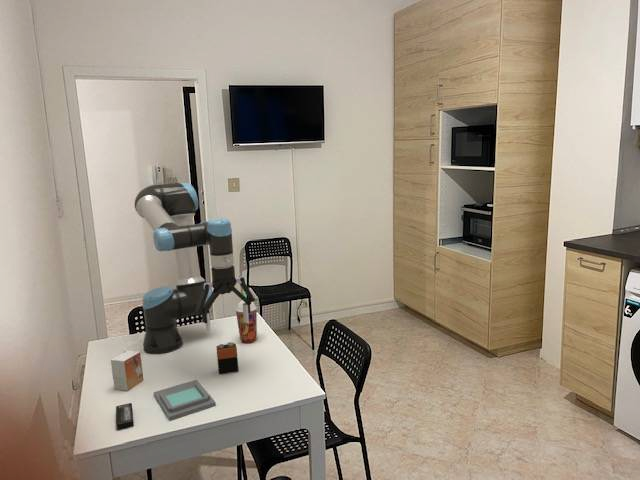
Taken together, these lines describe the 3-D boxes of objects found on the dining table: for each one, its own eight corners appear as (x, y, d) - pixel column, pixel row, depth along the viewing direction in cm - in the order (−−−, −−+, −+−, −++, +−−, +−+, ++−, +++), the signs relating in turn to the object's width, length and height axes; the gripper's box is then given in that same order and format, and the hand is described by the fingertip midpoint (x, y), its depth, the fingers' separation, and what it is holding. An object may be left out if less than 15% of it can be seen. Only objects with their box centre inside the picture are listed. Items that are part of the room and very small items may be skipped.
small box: (127, 391, 157) (123, 361, 155) (114, 389, 159) (110, 359, 157) (144, 380, 164) (140, 351, 162) (131, 378, 166) (127, 349, 164)
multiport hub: (117, 431, 134) (116, 424, 134) (116, 413, 144) (115, 406, 144) (134, 427, 136) (133, 420, 136) (132, 409, 146) (131, 402, 146)
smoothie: (241, 336, 199) (238, 290, 195) (261, 336, 198) (257, 290, 194) (235, 344, 191) (231, 296, 187) (255, 344, 190) (252, 296, 186)
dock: (154, 395, 153) (153, 388, 153) (196, 382, 160) (196, 376, 160) (169, 420, 138) (168, 413, 138) (215, 405, 145) (215, 398, 145)
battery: (238, 372, 167) (236, 345, 165) (218, 375, 165) (216, 347, 163) (237, 366, 171) (235, 340, 169) (218, 369, 169) (216, 343, 168)
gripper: (189, 274, 149) (195, 339, 153) (261, 261, 162) (265, 321, 166) (181, 270, 155) (188, 332, 159) (252, 258, 168) (256, 315, 172)
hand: (227, 326), depth 163 cm, fingers open, 13 cm apart
